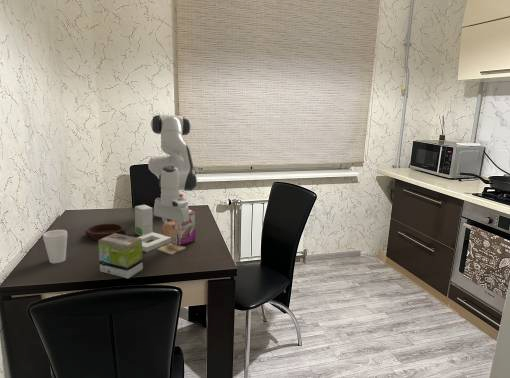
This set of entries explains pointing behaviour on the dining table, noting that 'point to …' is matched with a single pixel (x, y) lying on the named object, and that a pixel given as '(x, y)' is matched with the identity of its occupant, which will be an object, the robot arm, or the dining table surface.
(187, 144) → the robot arm
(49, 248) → the foam cup
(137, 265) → the tea box
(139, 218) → the skincare box
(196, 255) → the dining table surface
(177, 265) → the dining table surface
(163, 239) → the pocket board
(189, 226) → the candy bar box
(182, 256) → the dining table surface
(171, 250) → the cork pad
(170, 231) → the part
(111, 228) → the dish
